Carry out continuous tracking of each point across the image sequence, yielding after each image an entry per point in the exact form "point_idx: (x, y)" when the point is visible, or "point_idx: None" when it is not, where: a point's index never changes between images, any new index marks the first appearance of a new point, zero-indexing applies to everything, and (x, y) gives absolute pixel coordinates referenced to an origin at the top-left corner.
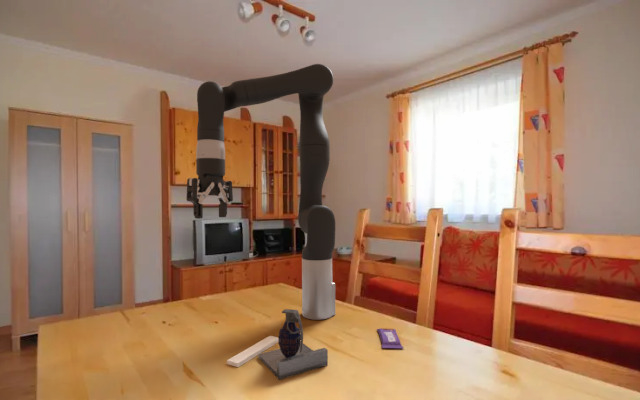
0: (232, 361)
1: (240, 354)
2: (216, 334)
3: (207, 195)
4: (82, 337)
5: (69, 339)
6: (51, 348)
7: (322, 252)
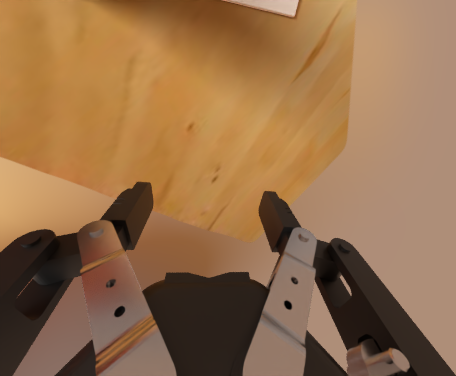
0: (297, 4)
1: (277, 6)
2: (222, 98)
3: (284, 259)
4: None
5: None
6: None
7: None
